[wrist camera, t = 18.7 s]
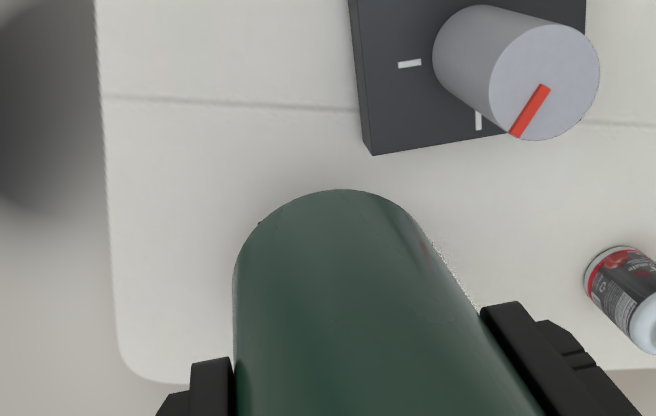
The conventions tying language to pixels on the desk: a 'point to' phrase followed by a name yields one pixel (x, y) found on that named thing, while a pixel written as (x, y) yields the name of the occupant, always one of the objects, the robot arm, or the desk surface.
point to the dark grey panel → (422, 70)
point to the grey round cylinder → (517, 70)
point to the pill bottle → (626, 293)
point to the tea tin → (360, 320)
